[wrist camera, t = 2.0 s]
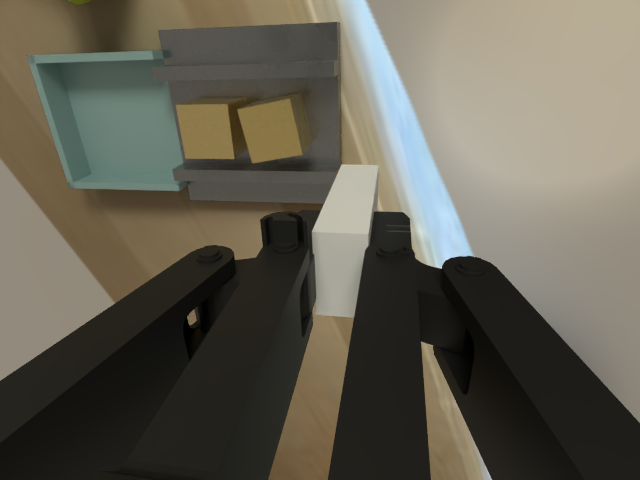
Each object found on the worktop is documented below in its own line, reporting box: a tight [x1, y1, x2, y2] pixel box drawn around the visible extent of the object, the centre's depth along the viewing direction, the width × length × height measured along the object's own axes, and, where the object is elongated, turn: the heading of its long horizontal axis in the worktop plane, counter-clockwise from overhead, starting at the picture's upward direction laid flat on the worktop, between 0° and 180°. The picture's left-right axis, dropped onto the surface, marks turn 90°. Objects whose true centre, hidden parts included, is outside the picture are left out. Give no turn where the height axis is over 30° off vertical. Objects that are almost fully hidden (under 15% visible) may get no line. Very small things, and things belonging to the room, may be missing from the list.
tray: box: [26, 50, 187, 191], centre depth 35 cm, size 11×11×3 cm
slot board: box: [152, 22, 342, 204], centre depth 33 cm, size 14×14×4 cm
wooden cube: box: [237, 92, 312, 163], centre depth 31 cm, size 4×4×4 cm
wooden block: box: [176, 97, 248, 159], centre depth 32 cm, size 4×4×4 cm
